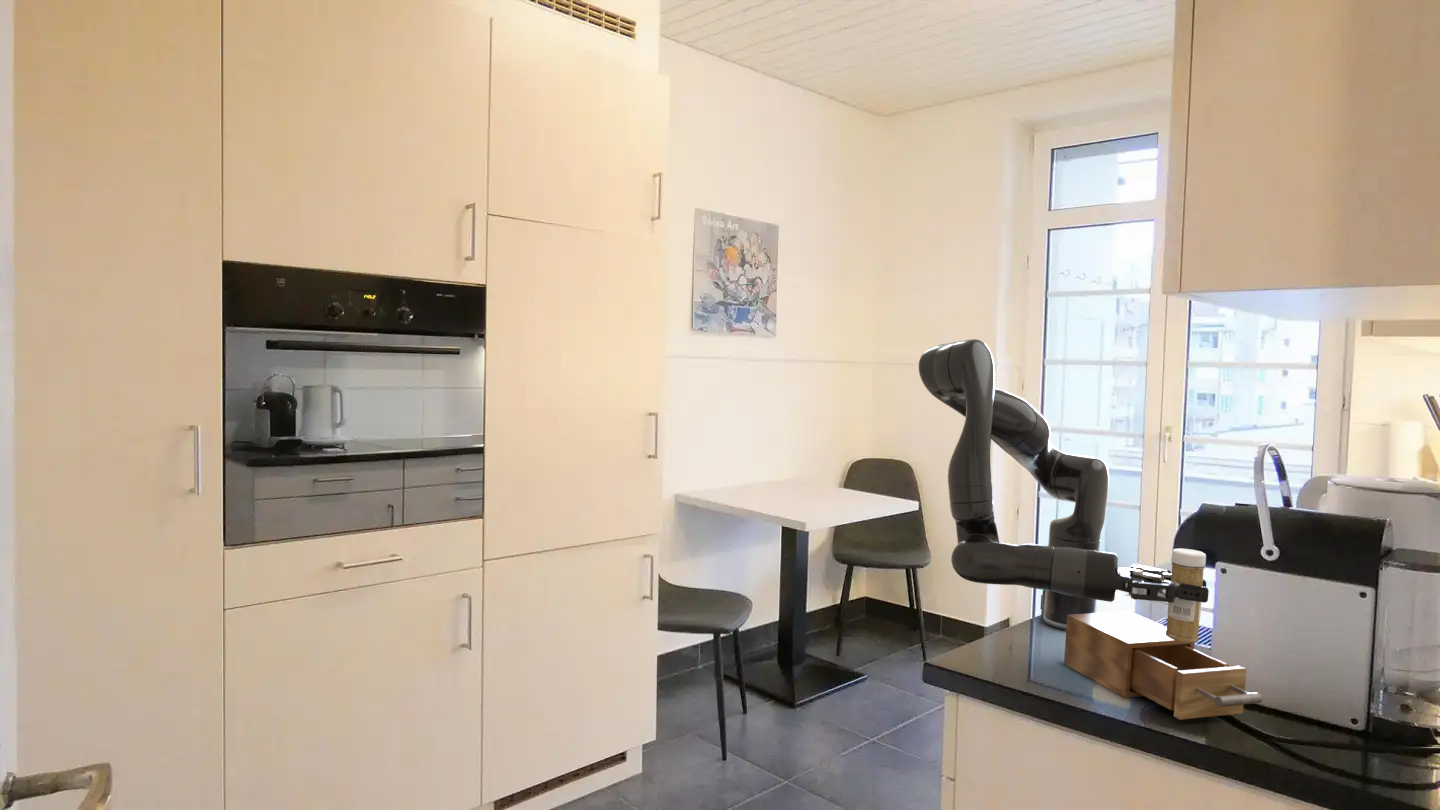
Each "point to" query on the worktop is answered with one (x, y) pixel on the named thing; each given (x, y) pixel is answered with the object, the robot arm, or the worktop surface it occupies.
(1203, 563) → the sprinkles bottle
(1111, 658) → the cabinet
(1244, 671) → the drawer
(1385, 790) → the worktop surface
